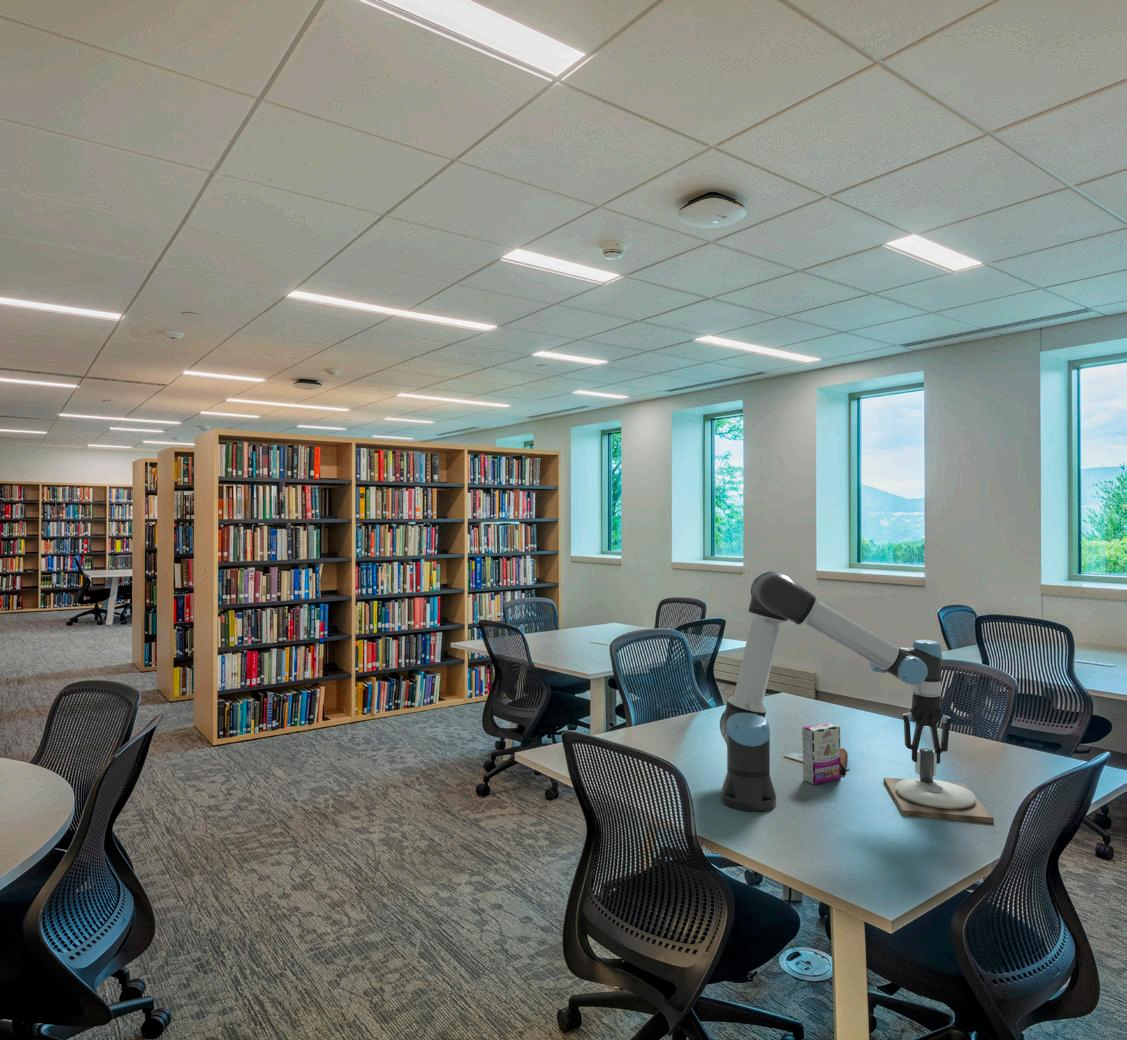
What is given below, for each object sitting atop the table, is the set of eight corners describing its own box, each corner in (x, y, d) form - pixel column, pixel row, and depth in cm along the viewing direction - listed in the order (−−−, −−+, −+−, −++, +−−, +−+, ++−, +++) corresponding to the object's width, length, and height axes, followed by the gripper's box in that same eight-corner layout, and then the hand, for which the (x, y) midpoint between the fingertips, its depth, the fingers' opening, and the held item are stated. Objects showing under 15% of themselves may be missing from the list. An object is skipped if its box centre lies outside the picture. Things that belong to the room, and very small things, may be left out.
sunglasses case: (820, 755, 247) (831, 739, 246) (839, 768, 245) (850, 752, 243) (816, 772, 230) (828, 755, 229) (837, 786, 228) (849, 769, 227)
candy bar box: (829, 774, 228) (828, 722, 228) (841, 779, 223) (841, 726, 223) (801, 780, 223) (801, 726, 223) (813, 785, 219) (813, 730, 219)
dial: (986, 811, 194) (986, 772, 194) (905, 805, 198) (905, 767, 198) (961, 785, 214) (961, 750, 214) (888, 780, 218) (888, 746, 218)
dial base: (902, 815, 196) (902, 809, 196) (883, 782, 221) (883, 776, 221) (993, 823, 191) (993, 817, 191) (963, 788, 216) (963, 782, 216)
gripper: (954, 692, 216) (953, 771, 216) (893, 689, 220) (892, 766, 220) (961, 698, 209) (960, 780, 209) (898, 695, 212) (897, 775, 213)
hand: (925, 773), depth 214 cm, fingers open, 4 cm apart
